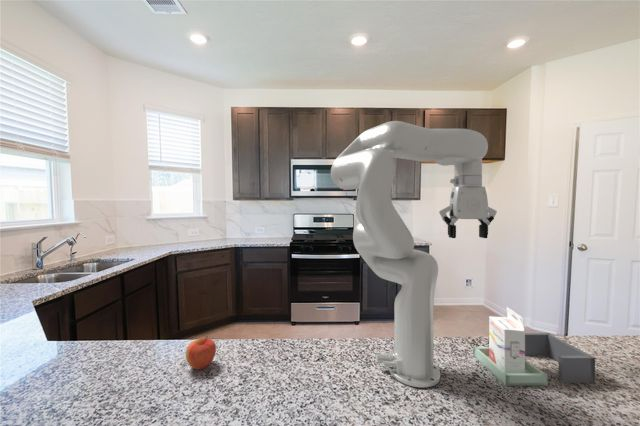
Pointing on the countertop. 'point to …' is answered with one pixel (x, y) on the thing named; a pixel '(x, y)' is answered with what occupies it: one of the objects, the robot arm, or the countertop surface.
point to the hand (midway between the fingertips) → (467, 237)
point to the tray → (528, 378)
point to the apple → (200, 353)
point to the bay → (562, 357)
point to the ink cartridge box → (507, 342)
